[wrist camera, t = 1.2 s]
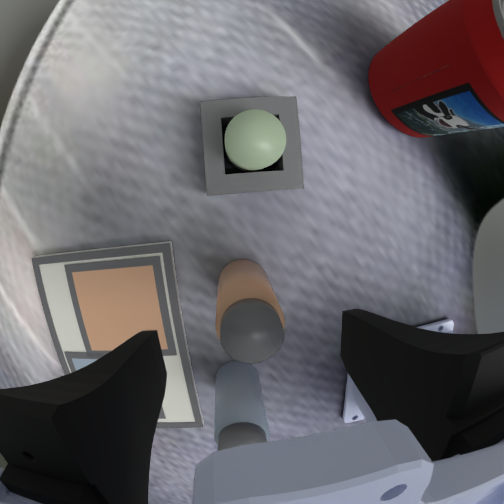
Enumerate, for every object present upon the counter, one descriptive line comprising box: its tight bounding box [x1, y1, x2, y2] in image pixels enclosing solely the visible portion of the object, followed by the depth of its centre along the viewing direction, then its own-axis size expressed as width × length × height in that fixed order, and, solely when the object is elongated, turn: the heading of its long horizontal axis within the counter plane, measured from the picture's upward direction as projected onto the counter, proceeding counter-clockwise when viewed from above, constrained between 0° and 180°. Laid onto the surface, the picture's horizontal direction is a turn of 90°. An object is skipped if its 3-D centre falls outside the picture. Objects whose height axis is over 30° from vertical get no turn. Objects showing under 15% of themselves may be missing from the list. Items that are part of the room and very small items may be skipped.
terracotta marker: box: [216, 259, 285, 363], centre depth 16 cm, size 3×3×7 cm
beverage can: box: [368, 0, 504, 138], centre depth 11 cm, size 7×7×12 cm
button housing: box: [200, 97, 304, 196], centre depth 16 cm, size 5×5×2 cm
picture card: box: [32, 241, 204, 428], centre depth 19 cm, size 10×14×1 cm
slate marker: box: [215, 361, 270, 451], centre depth 17 cm, size 3×3×7 cm
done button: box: [225, 109, 286, 171], centre depth 15 cm, size 3×3×3 cm
